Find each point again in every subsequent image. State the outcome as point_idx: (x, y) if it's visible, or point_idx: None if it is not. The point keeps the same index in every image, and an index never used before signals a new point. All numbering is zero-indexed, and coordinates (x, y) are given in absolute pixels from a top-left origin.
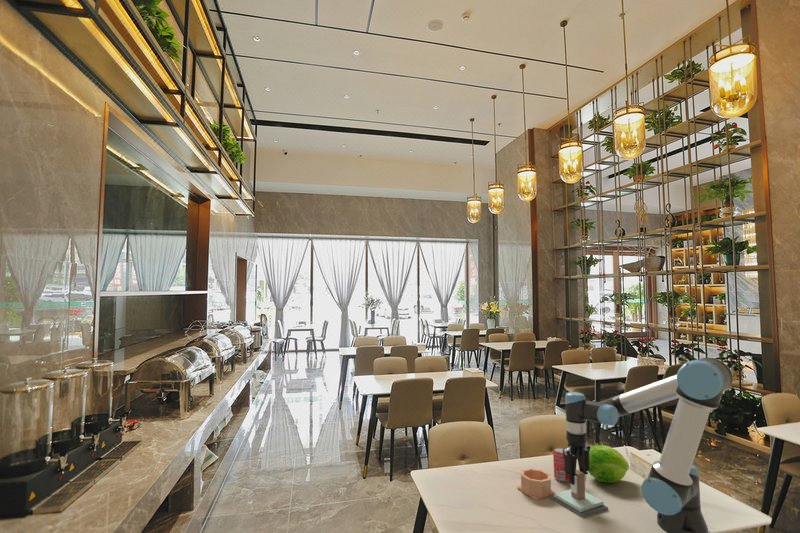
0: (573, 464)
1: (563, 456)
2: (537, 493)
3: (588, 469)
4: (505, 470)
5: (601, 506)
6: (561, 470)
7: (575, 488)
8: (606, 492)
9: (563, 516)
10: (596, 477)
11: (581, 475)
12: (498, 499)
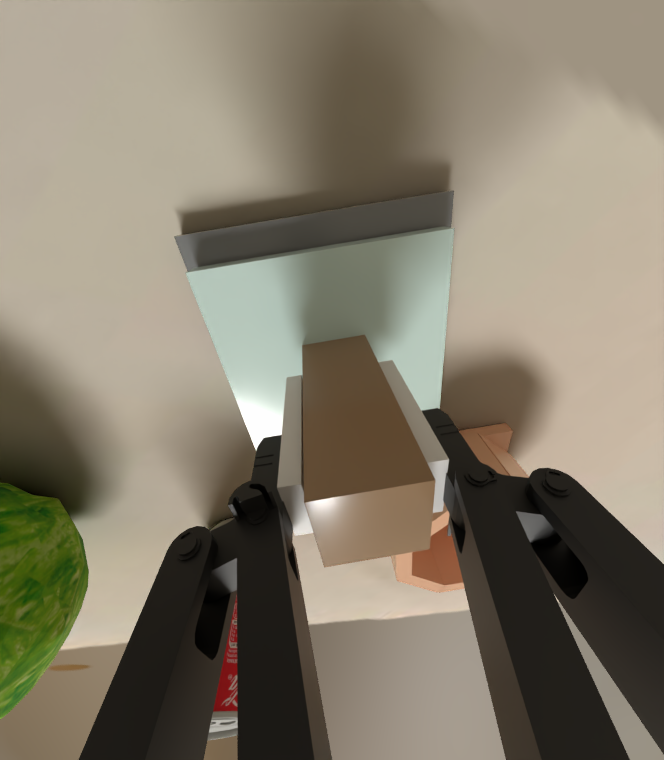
0: (581, 676)
1: (228, 678)
2: (498, 450)
3: (188, 553)
4: (411, 585)
5: (222, 259)
6: None
7: (404, 385)
8: (68, 415)
9: (538, 252)
10: (61, 519)
11: (357, 470)
12: (628, 454)
